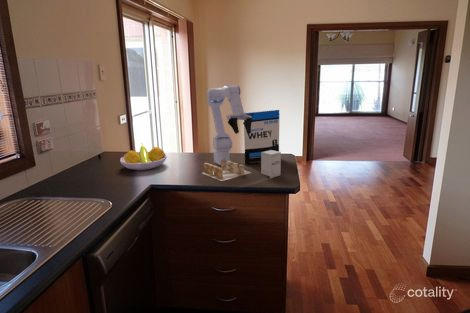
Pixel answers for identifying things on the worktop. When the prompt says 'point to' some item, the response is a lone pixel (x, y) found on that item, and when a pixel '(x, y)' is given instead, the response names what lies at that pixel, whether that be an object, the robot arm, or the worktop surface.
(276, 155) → the supplement box
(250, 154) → the protein powder
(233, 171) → the halving base
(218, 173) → the wooden block
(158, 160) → the fruit bowl
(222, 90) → the robot arm
